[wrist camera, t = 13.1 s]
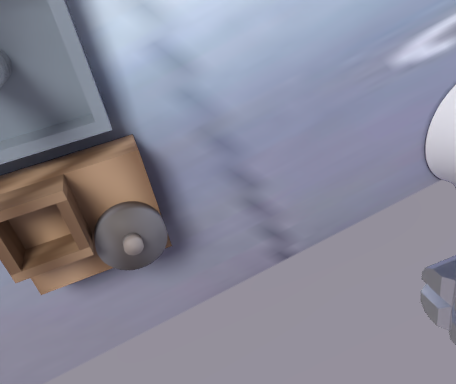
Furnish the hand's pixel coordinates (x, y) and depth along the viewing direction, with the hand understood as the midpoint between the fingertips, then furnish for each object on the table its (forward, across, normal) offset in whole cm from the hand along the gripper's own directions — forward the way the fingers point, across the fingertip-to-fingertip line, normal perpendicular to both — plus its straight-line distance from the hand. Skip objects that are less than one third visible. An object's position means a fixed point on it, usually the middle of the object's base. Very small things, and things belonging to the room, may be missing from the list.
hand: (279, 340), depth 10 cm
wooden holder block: (+28, +9, +9) cm, 31 cm away
